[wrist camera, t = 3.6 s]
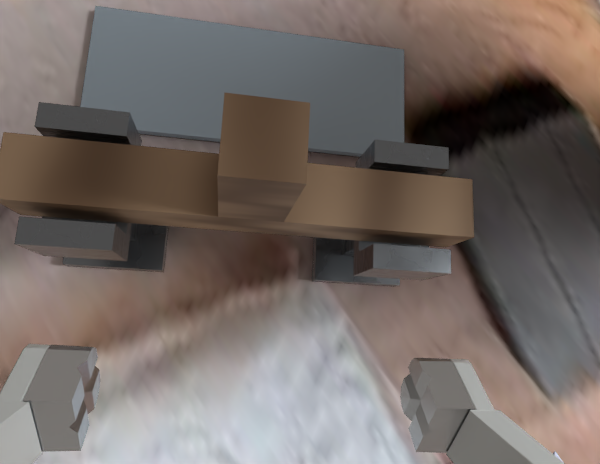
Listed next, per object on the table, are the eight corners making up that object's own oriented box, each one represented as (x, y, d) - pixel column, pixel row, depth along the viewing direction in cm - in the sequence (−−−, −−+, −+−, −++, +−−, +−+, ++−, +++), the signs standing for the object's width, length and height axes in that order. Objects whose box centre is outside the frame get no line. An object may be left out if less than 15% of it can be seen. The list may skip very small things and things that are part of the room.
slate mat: (401, 53, 37) (404, 49, 37) (401, 161, 36) (404, 158, 35) (97, 11, 34) (95, 5, 33) (80, 127, 32) (77, 123, 32)
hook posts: (394, 201, 35) (466, 149, 25) (394, 290, 34) (470, 274, 23) (81, 172, 32) (15, 99, 21) (66, 270, 30) (-11, 242, 20)
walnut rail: (445, 195, 27) (553, 131, 18) (446, 247, 26) (558, 207, 17) (30, 156, 23) (-82, 55, 15) (20, 214, 23) (-103, 145, 14)
